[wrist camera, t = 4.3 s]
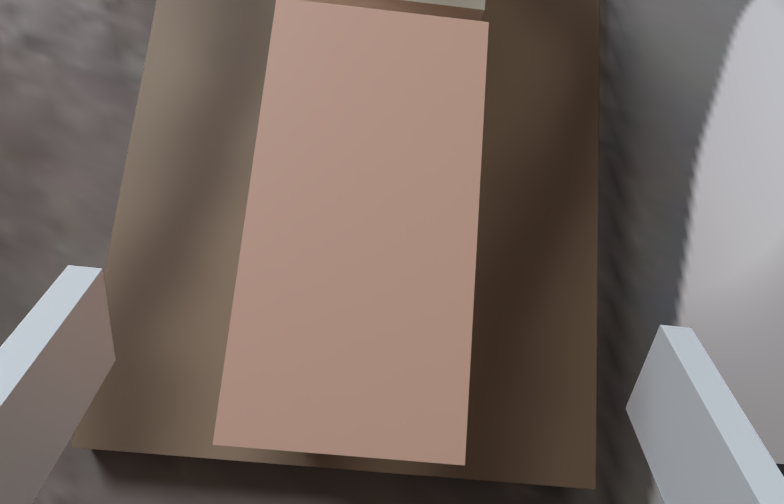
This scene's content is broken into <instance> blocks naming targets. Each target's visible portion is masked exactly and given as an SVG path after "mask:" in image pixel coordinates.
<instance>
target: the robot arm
mask: <svg viewBox="0 0 784 504" xmlns="http://www.w3.org/2000/svg"><path fill="white" fill-rule="evenodd" d="M115 360H116V359H115V352H114V345H113V339H112V332H111V325H110V318H109V311H108V304H107V297H106V290H105V283H104V277H103V270H102V268H92V267H82V266H72V265H68V266H67V267H66V269H65V270H64V271H63V272H62V273H61V275H60V276H59V277H58V278H57V279H56V281H55V282H54V283H53V284H52V285H51V287H50V288H49V289H48V290H47V291H46V293H45V294H44V295H43V296H42V297H41V299H40V300H39V301H38V302H37V304H36V305H35V306H34V307H33V308H32V310H31V311H30V312H29V313H28V314H27V316H26V317H25V318H24V319H23V320H22V322H21V323H20V324H19V325H18V326H17V328H16V329H15V330H14V331H13V332H12V334H11V335H10V336H9V337H8V338H7V340H6V341H5V342H4V343H3V344H2V346H1V347H0V504H33V503H34V501H35V499H36V497H37V496H38V494H39V492H40V490H41V489H42V487H43V485H44V483H45V482H46V480H47V478H48V477H49V475H50V473H51V471H52V470H53V468H54V466H55V464H56V463H57V461H58V459H59V457H60V456H61V454H62V452H63V450H64V449H65V447H66V445H67V444H68V442H69V440H70V438H71V437H72V435H73V433H74V431H75V430H76V428H77V426H78V424H79V423H80V421H81V419H82V418H83V416H84V414H85V412H86V411H87V409H88V407H89V405H90V404H91V402H92V400H93V398H94V397H95V395H96V393H97V392H98V390H99V388H100V386H101V385H102V383H103V381H104V379H105V378H106V376H107V374H108V372H109V371H110V369H111V367H112V366H113V364H114V362H115ZM626 411H627V413H628V416H629V418H630V421H631V423H632V425H633V428H634V430H635V433H636V435H637V438H638V440H639V443H640V445H641V448H642V450H643V452H644V455H645V457H646V460H647V462H648V465H649V467H650V470H651V472H652V474H653V477H654V479H655V482H656V484H657V487H658V489H659V492H660V494H661V497H662V499H663V501H664V504H784V464H775V462H774V460H773V459H772V457H771V455H770V454H769V452H768V451H767V449H766V448H765V446H764V444H763V443H762V441H761V439H760V438H759V436H758V435H757V433H756V432H755V430H754V428H753V427H752V425H751V423H750V422H749V420H748V418H747V417H746V415H745V414H744V412H743V410H742V409H741V407H740V406H739V404H738V402H737V401H736V399H735V397H734V396H733V394H732V393H731V391H730V389H729V388H728V386H727V385H726V383H725V381H724V380H723V378H722V377H721V375H720V373H719V372H718V370H717V368H716V367H715V365H714V364H713V362H712V361H711V359H710V357H709V356H708V354H707V352H706V351H705V349H704V348H703V346H702V344H701V343H700V341H699V339H698V338H697V336H696V335H695V333H694V332H693V330H692V328H688V327H678V326H668V325H660V326H659V329H658V331H657V333H656V336H655V338H654V341H653V343H652V345H651V348H650V350H649V353H648V355H647V357H646V360H645V362H644V365H643V367H642V370H641V372H640V374H639V377H638V379H637V382H636V384H635V386H634V389H633V391H632V394H631V396H630V398H629V401H628V403H627V406H626Z"/></svg>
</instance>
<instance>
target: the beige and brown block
mask: <svg viewBox="0 0 784 504" xmlns="http://www.w3.org/2000/svg"><path fill="white" fill-rule="evenodd" d="M303 1H312V2H320V3H329V4H338V5H346V6H355V7H363V8H372V9H380V10H389V11H398V12H406V13H415V14H423V15H432V16H440V17H449V18H458V19H466V20H475V21H483V22H489V28H488V47H487V65H486V84H485V102H484V121H483V140H482V158H481V177H480V195H479V214H478V232H477V251H476V270H475V288H474V307H473V325H472V344H471V362H470V381H469V400H468V418H467V437H466V455H465V465H454V464H441V463H429V462H417V461H405V460H392V459H380V458H368V457H356V456H343V455H331V454H319V453H307V452H294V451H282V450H270V449H257V448H245V447H233V446H221V445H213V438H214V431H215V424H216V417H217V410H218V403H219V396H220V389H221V382H222V375H223V368H224V361H225V354H226V347H227V340H228V333H229V326H230V319H231V312H232V305H233V298H234V291H235V284H236V277H237V270H238V263H239V256H240V249H241V242H242V235H243V228H244V221H245V214H246V207H247V200H248V193H249V186H250V179H251V172H252V165H253V158H254V151H255V144H256V137H257V130H258V123H259V116H260V109H261V102H262V95H263V88H264V81H265V74H266V67H267V60H268V53H269V46H270V39H271V32H272V25H273V18H274V11H275V4H276V0H157V1H156V7H155V12H154V17H153V22H152V27H151V33H150V38H149V43H148V48H147V53H146V59H145V64H144V69H143V74H142V79H141V85H140V90H139V95H138V100H137V105H136V111H135V116H134V121H133V126H132V131H131V137H130V142H129V147H128V152H127V157H126V162H125V168H124V173H123V178H122V183H121V188H120V194H119V199H118V204H117V209H116V214H115V220H114V225H113V230H112V235H111V240H110V246H109V251H108V256H107V261H106V266H105V272H104V283H105V290H106V297H107V304H108V311H109V318H110V325H111V332H112V339H113V345H114V352H115V359H116V360H115V362H114V364H113V366H112V367H111V369H110V371H109V372H108V374H107V376H106V378H105V379H104V381H103V383H102V385H101V386H100V388H99V390H98V392H97V393H96V395H95V397H94V398H93V400H92V402H91V404H90V405H89V407H88V409H87V411H86V412H85V414H84V416H83V418H82V419H81V421H80V423H79V424H78V426H77V428H76V430H75V431H74V433H73V438H72V443H71V447H73V448H85V449H98V450H110V451H122V452H135V453H147V454H160V455H172V456H185V457H197V458H209V459H222V460H234V461H247V462H259V463H272V464H284V465H297V466H309V467H321V468H334V469H346V470H359V471H371V472H384V473H396V474H408V475H421V476H433V477H446V478H458V479H471V480H483V481H495V482H508V483H520V484H533V485H545V486H558V487H570V488H582V489H595V490H596V398H597V276H598V154H599V31H600V0H303Z"/></svg>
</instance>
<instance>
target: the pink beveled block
mask: <svg viewBox="0 0 784 504" xmlns="http://www.w3.org/2000/svg"><path fill="white" fill-rule="evenodd" d="M488 28H489V22H483V21H475V20H466V19H458V18H449V17H440V16H432V15H423V14H415V13H406V12H398V11H389V10H380V9H372V8H363V7H355V6H346V5H338V4H329V3H320V2H312V1H303V0H276V4H275V11H274V18H273V25H272V32H271V39H270V46H269V53H268V60H267V67H266V74H265V81H264V88H263V95H262V102H261V109H260V116H259V123H258V130H257V137H256V144H255V151H254V158H253V165H252V172H251V179H250V186H249V193H248V200H247V207H246V214H245V221H244V228H243V235H242V242H241V249H240V256H239V263H238V270H237V277H236V284H235V291H234V298H233V305H232V312H231V319H230V326H229V333H228V340H227V347H226V354H225V361H224V368H223V375H222V382H221V389H220V396H219V403H218V410H217V417H216V424H215V431H214V438H213V445H221V446H233V447H245V448H257V449H270V450H282V451H294V452H307V453H319V454H331V455H343V456H356V457H368V458H380V459H392V460H405V461H417V462H429V463H441V464H454V465H465V455H466V437H467V418H468V400H469V381H470V362H471V344H472V325H473V307H474V288H475V270H476V251H477V232H478V214H479V195H480V177H481V158H482V140H483V121H484V102H485V84H486V65H487V47H488Z"/></svg>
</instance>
